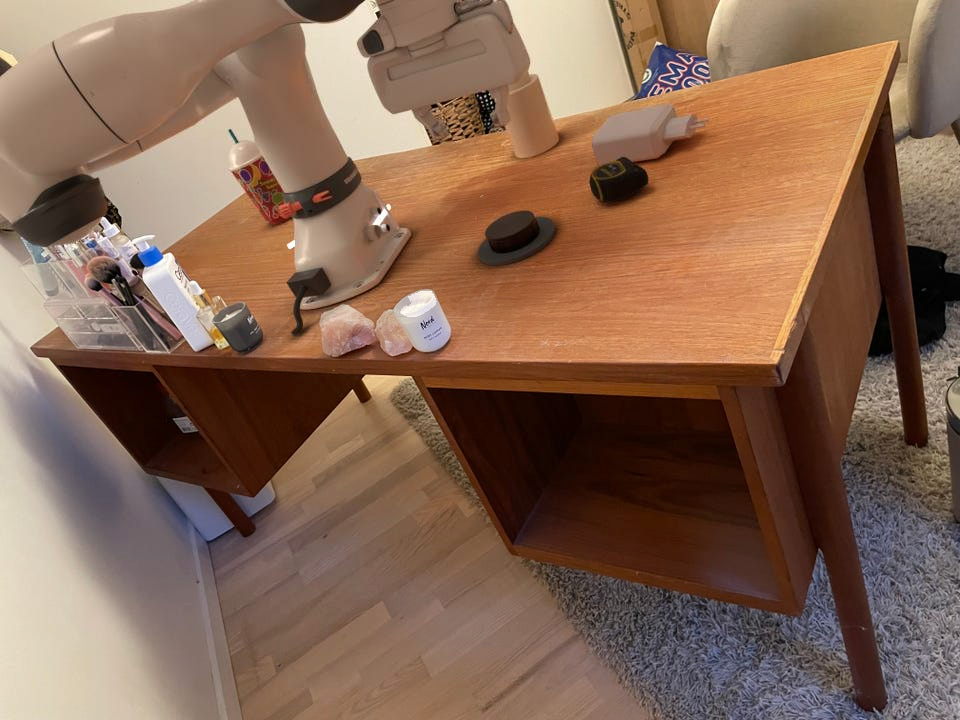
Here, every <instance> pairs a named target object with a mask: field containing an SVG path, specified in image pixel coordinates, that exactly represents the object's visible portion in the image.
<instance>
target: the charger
mask: <svg viewBox="0 0 960 720" xmlns="http://www.w3.org/2000/svg"><path fill="white" fill-rule="evenodd" d="M707 122H709V118H700V119H698V115H697V114H688V115H687V114H686V115H682V116H677V112H676V108H675V106H674V105H672V104H670V103H665V104H661V105H660V104H659V105H654V106H650V107H646V108H640V109H636V110H635V109H634V110H629V111H624V112H620V113H615V114H611V115H610V116H608V118H607V119H606V120H605V121H604V123H603V124H602V125H601V127H600V128H599V129H598V130H597V131H596V132H595V133H594V134H593V137H592V139H591V147H592V150H593V153H594V157H595V159H596V164H597V166H598V167H600V166H601V165H603V164H606V163H609V162H613V161H616V160H617V159H619V158H621V157H626V158H628V159H629V160H631V161H632V162H633V163H634V162H635V163H636V162H642V161H649V160H650V161H651V160H655V159H659V158H660V157H662V155H664V154H665V153H666V152H667V150H668V149H669V148H670V146H671V145H672V144H673V142H674V141H678V140H683V139H684V140H685V139H689V138H690V139H691V138H692V136H693V135H694V133H695V131H696V130H697V129H702V128H705V127H706V124H705V123H707Z"/></svg>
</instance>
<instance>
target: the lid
mask: <svg viewBox="0 0 960 720" xmlns="http://www.w3.org/2000/svg"><path fill="white" fill-rule="evenodd" d="M535 217H536V216H535V214H534V212H533V211H530V210H524V209H523V210H516V211H513V212H509V213H507V214H505V215H503V216H500V217H499V218H497V219H495V220H494V221H493V222H491V223H490V224H489V225H488V226H487V228H486V229H485V231H484V236H485V239H486V238H487V240H488V243H489V245H490V247H491V250H492V251H493V252H495V253H500V254H503V253H510V252H513V251H516V250H519V249H521V248H523V247H525V246H527V245H528V244H530V243H531V242H533V241H534V240H535V239H536V238H537V236H538V235H539V232H540V228H539V225H538V223H537V220H536V219H535Z"/></svg>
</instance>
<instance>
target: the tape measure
mask: <svg viewBox="0 0 960 720" xmlns="http://www.w3.org/2000/svg"><path fill="white" fill-rule="evenodd" d="M588 182H589V183H588V184H589V187H590V190H591V193H592V195H593V197H594V198H595V199H596V200H598V201H601V202H606V203H608V202H609V203H610V202H617V201H620V200H624V199H626V198H628V197H630V196H632V195H633V194H635V193H636V192H638V191H640V190H641V189H643V188H644V187H646V186H647V185H648V183H649V175H648V172H647V170H645V168H644V167H642V166H640V165H638V164H637V163H636V162H635V163H634V162H632V161H631V160H629V159H628V158H626V157H621V158H619V159H617V160H616V161H613V162H609V163H606V164H603V165H601V166H600V167H599V166H598V167H596V168H595V169H594V170H593V171H592V172H591V173H590V175H589V181H588Z"/></svg>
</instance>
